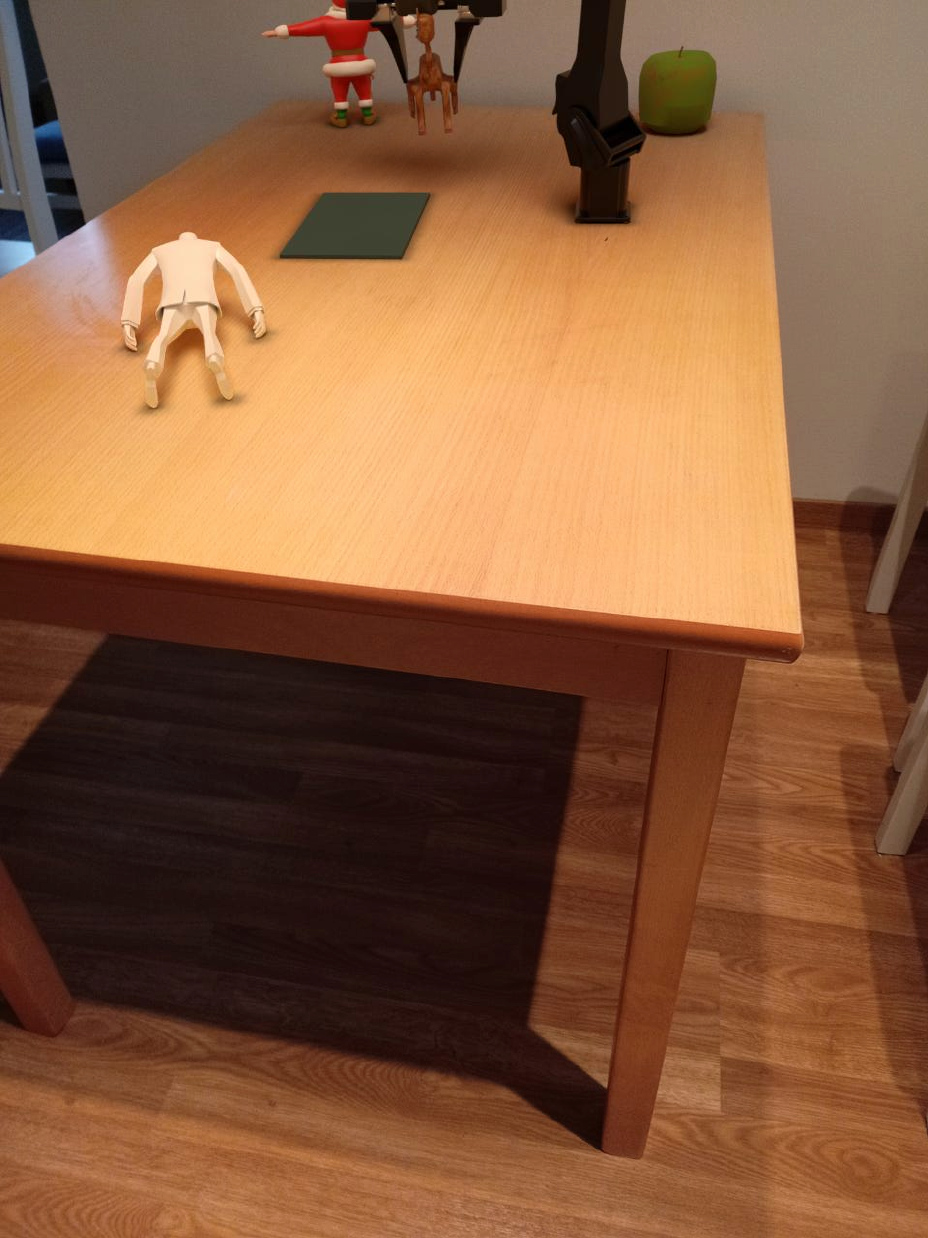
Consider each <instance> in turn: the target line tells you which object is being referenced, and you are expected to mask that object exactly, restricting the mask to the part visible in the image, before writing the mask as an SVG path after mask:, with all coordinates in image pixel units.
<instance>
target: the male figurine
mask: <svg viewBox="0 0 928 1238" xmlns="http://www.w3.org/2000/svg"><path fill="white" fill-rule="evenodd" d="M219 270H220V271H221V270H222V271H223V272H224V273H225V274H226V275H227V276H229V277H230V278H231V279H232V280H233V283H234V286H235V289H236V292H237V294H238V297H239V299H240V302H241V304H242V307H243V309H244V312H245V314H246V316H247V317H248V318H249V319H251V320H253V321H254V325H253V327H252V329H253V330H254V332H253V333H254V334H255V336H254V337H255V338H256V339H258V338H261V337H262V336H263V335H264V334H265V333H266V332H267V322H266V319H265V313H266V312H265V311H266V308H265V306H264V304H263V302H262V300H261V298H260V296H259V294H258V291H257V290H256V288H255V285H254V284H253V282H252V280H251V278H250V276H249V274H248V273H247V271H246V269H245V267H244V266H243V265H242V264H241V263H239V261H238V260H237V259H236V258H235V257H234V256H233V255H232V254H231V253H230V252H229V251H228V250H227V249H225V248H224V247H223V245H221V242H219V241H213V240H208V239H203V238H201V239H200V238H198V236H197V235H196V234H195V233H194V232H191V231H185V232H182V233H181V234H179V236H178V239H176V240H172V241H169V242H166V243H164V244H160V245H158V246H155V247H153V248H151V251H150V253H149V254H148V255H147V256H146V257H145V258H144V259H143V261H142V262H141V263H139V265H138V267H136V269H135V271H134V272H133V273H132V274H131V275H130V276H129V279H128V281H127V285H126V290H125V296H124V300H123V305H122V306H123V307H122V312H121V318H120V325H121V326H120V328H122V329H123V333H122V334H123V339H124V342H125V346H126V347H127V348H129V349H130V350H132V351H135V352H136V351H137V350H138V348H137V339H136V332H138V331H139V330H140V328H141V319H142V311H143V303H144V293H145V289H146V288H147V287H148V286H149V284H150V283H151V282H152V281H153V280H154V278H156V277H157V276H159V277H161V279H162V280H161V281H162V288H161V289H162V290H161V297H160V301H159V303H158V307H157V308H156V310H155V312H154V313H155V314H154V316H155V320H156V322H157V323H158V324H160V330H159V333H158V335H156V337H155V338H154V339H153V341H152V344H151V345H150V348H149V350H148V353H147V355H146V356H145V358H144V361H143V363H142V365H141V366H140V369H141V370H142V371H143V372H144V374H145V389H144V396H145V397H144V398H145V402H146V404H147V405H148V406H149V407H150V408H153V409H155V408H157V407H158V404H159V393H158V390H157V387H156V379H159V378H160V376H161V374H162V373H163V371H164V365H165V358H166V356H165V355H166V351H167V349H168V345H170V344H171V343H173V342H174V341H175V340H176V339H178V337H179V336H181V335H182V334H183V332H185V331H186V330H189V329H198V330H199V331H200V333H201V335H202V336H203V344H204V358H205V359H204V360H205V366H206V367H207V368H208V369H209V370H211V371H212V372H213V373H214V376H215V379H216V383H217V386H218V389H219V391H220V393H221V395H222V396H223V397H224V398H225V399H226V400H229V401H230V400H231V399H232V398H233V396H234V391H233V387H232V385H231V382H230V381H229V380H228V378H227V376H226V373H225V372H224V366H225V361H226V360H225V359H226V358H225V355H224V352H223V348H222V345H221V343H220V341H219V339H218V336H217V334H216V328H217V322H218V321H217V320H219V319H221V318H222V316H223V311H222V308H221V306H220V303H219V300H218V296H217V293H216V289H215V281H216V278H217V274H218V272H219Z"/></svg>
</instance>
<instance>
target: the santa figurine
mask: <svg viewBox="0 0 928 1238" xmlns="http://www.w3.org/2000/svg"><path fill="white" fill-rule="evenodd" d="M331 3H332V5H331V6H330V7H329V8H328V12H326V13H325V14H324V15H320V16H319V17H315V18H313V19H309V20H305V21H303V22H299V23H294V24H289V25H286V24H280V25H279V26H276V28H275V29H274V30H266V31H264V32H262V33H261V36H263V37H267V38H269V39H271V38H278V39H280V40H288V39H289V38H290V37H295V38H298V37H299V38H301V37H304V38H305V37H306V38H312V37H324V39H325V42H326V44H327V46H328V48H329V50H330V53H331V59H330V60H329V61H328V63H325V64H324V65H323V66H322V73H323V76H325V77H326V78H327V79H330V87H331V91H332V94H333V97H334V103H333V104H334V105H333V107H334V110H336V112H335V113H332V114H331V115H330V117H329V121H330V123H331V125H332V126H334V127H336V128H340V129H344V128H347V127H348V121H347V114H348V109H350V102H349V100H348V101H347V98H348V95H349V91H350V85H352V87H353V90H354V92H355V93H356V95H357V97H358V102H357V106H358V108H360V109H361V112H362V115H363V121H364V122H363V123H364V125H365V126H372V125H374V124H375V122H376V121H377V113H376V112H375V111H374V110H373V109H372V108H373V105H374V101H373V99H372V98H373V91H372V81H373V80H375V75H374V73H376V71H377V64H376V61H375V60H374V59H372V58H368V57H367V55H365V47H366V44H367V41H368V36H369V33H373V32H374V33H375V32H380V30H379V29H378V28H371V26H370V22H371V20H352V21H350V20H346V10H345V0H331ZM402 21H403V30H408V29H409V30H410V29H412V28H413V27H415V26H416V21H417V18H415V17H414V15H408V16H406V17H402Z"/></svg>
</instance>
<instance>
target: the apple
mask: <svg viewBox="0 0 928 1238" xmlns="http://www.w3.org/2000/svg"><path fill="white" fill-rule="evenodd" d="M717 72H718V71H717V62H716V59H715V58H714V57H713V56H712V55H711V53H709V52H708V51H705V50H703V49H684V46H683V45H681V47H680V49H676V50H666V51H662V52H656V53H653V54H651V55H650V56H649V57H648V58H646V60H645V61H644V62H642V65H641V69H640V73H639V77H638V97H637V98H638V118H639V121H640V122H642V123H643V124H644V125H646V126H647V127H649V128H650V129H651V130H653V131H654V133H655V132H656V133H659V134H663V135H664V134H666V135H683V134H684V135H685V134H692V133H693V132H696V131H697V130H698V129H700V128H701V127H703V126H704V125H705V124H707V123H708V121H709V120H711V117H712V112H713V111H712V110H713V105H714V100H715V93H716V87H717V82H718V81H717V80H718V75H717V74H718V73H717Z"/></svg>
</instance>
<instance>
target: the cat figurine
mask: <svg viewBox="0 0 928 1238" xmlns="http://www.w3.org/2000/svg"><path fill="white" fill-rule="evenodd" d="M416 13H417V14H416V19H417V21H416V25H415V28H416V29H415V31H416V35H415V39H416V40H417V42H420V44H422V45H424V50H425V52H424V53H422V54H421V55H420V57H419V60H418V75H416V76H415V77H413V78H410V79H409V78H408V83H407V84H405V88H406V94H407V103H408V110H409V115H410V117H411V118H412V119H415V120H416V121H417V131H418V133H417V134H418V136H426V135H427V125H426V115H425V103H424V95H425V93H429V97H430V101H431V102H435V101H437V96H436V92H440V95H441V101H442V103H441V104H442V105H441V106H442V115H443V128H444V129H443V130H444V134H452V133H453V125H452V124H453V123H452V114H453V116H455V115H457V114H458V113H459V94H458V85H459V84H458V83H459V81H458V82H457V83H454V75H451V74H447V73H445V72H444V71H443V66H442V62H441V56H440V55H439V54H438V53H436V52H433V51H432V47H431V42H432V41H433V40H434V38H435V34H436V31H435V30H436V29H435V18H434V16H433V15H429V14H419V12H418V8H416ZM451 106H452V107H451ZM451 108H452V111H451Z"/></svg>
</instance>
